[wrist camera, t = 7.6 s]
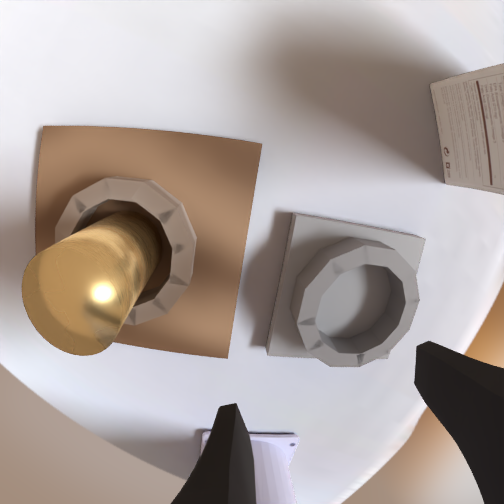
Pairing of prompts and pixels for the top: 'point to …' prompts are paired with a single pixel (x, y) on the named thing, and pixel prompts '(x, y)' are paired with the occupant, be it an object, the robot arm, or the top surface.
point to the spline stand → (344, 291)
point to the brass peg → (91, 282)
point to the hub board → (159, 221)
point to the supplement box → (472, 128)
